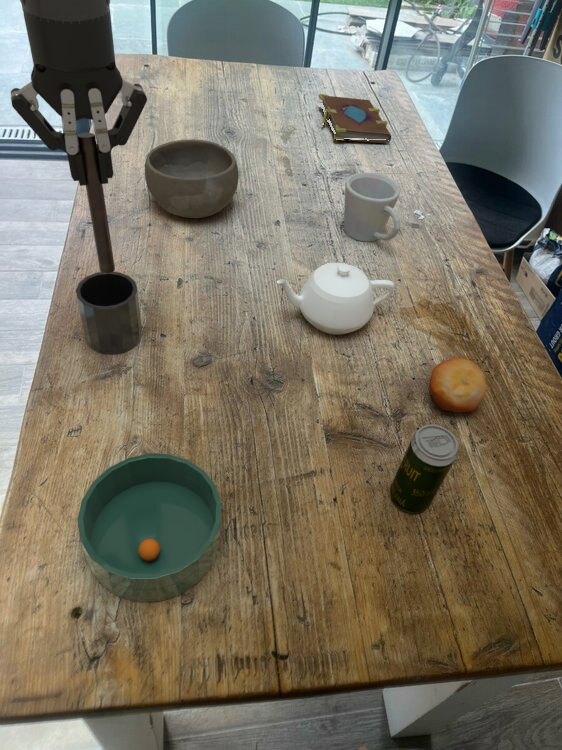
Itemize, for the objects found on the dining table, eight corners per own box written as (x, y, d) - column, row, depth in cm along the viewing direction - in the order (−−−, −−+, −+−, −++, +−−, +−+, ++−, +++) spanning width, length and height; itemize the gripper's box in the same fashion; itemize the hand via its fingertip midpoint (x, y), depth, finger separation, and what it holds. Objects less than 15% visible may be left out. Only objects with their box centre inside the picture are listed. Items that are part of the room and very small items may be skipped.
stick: (98, 273, 71) (75, 137, 60) (101, 266, 72) (79, 131, 62) (113, 274, 71) (92, 138, 60) (116, 266, 72) (96, 132, 62)
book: (364, 106, 161) (369, 88, 157) (390, 149, 145) (395, 129, 141) (308, 101, 157) (311, 82, 154) (327, 144, 141) (331, 123, 137)
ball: (149, 530, 65) (150, 546, 66) (133, 542, 64) (133, 558, 65) (164, 541, 64) (164, 557, 65) (148, 553, 62) (148, 569, 63)
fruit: (468, 366, 90) (491, 354, 83) (470, 417, 89) (494, 409, 81) (417, 364, 90) (436, 352, 82) (419, 415, 88) (438, 407, 80)
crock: (89, 359, 86) (80, 312, 79) (81, 321, 91) (72, 275, 84) (146, 349, 88) (142, 303, 82) (136, 313, 93) (131, 267, 87)
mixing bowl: (96, 621, 61) (88, 598, 56) (78, 498, 70) (70, 471, 66) (236, 578, 65) (238, 554, 61) (201, 469, 75) (201, 441, 70)
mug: (369, 213, 121) (380, 168, 114) (411, 253, 113) (426, 207, 105) (327, 222, 117) (335, 176, 110) (367, 264, 109) (379, 217, 101)
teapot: (278, 345, 92) (285, 294, 84) (266, 294, 100) (271, 245, 92) (397, 338, 95) (414, 290, 88) (376, 290, 104) (389, 242, 96)
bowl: (143, 184, 120) (139, 137, 113) (228, 181, 124) (229, 135, 117) (152, 231, 109) (148, 182, 102) (244, 226, 113) (247, 179, 106)
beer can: (417, 475, 77) (445, 418, 68) (437, 509, 74) (469, 455, 65) (381, 484, 76) (405, 428, 67) (400, 520, 72) (427, 465, 64)
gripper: (136, -9, 56) (148, 160, 69) (-19, -11, 52) (25, 169, 65) (151, 16, 52) (161, 193, 64) (-17, 16, 48) (29, 205, 60)
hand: (92, 180), depth 65 cm, fingers closed on stick, 2 cm apart
